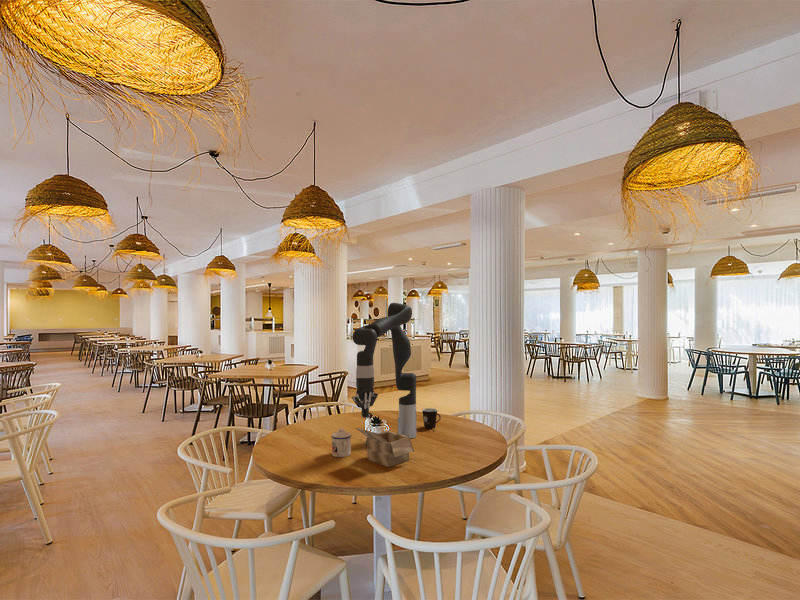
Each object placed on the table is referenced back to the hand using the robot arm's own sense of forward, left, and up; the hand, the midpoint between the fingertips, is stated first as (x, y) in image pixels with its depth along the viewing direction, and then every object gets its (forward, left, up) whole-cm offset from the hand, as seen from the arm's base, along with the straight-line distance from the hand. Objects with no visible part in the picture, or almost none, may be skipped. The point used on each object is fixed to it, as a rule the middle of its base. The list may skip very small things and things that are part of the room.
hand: (365, 417), depth 176 cm
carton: (0, +15, -21) cm, 26 cm away
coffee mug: (-22, +67, -21) cm, 74 cm away
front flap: (0, +7, -10) cm, 12 cm away
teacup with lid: (-20, +3, -21) cm, 29 cm away
